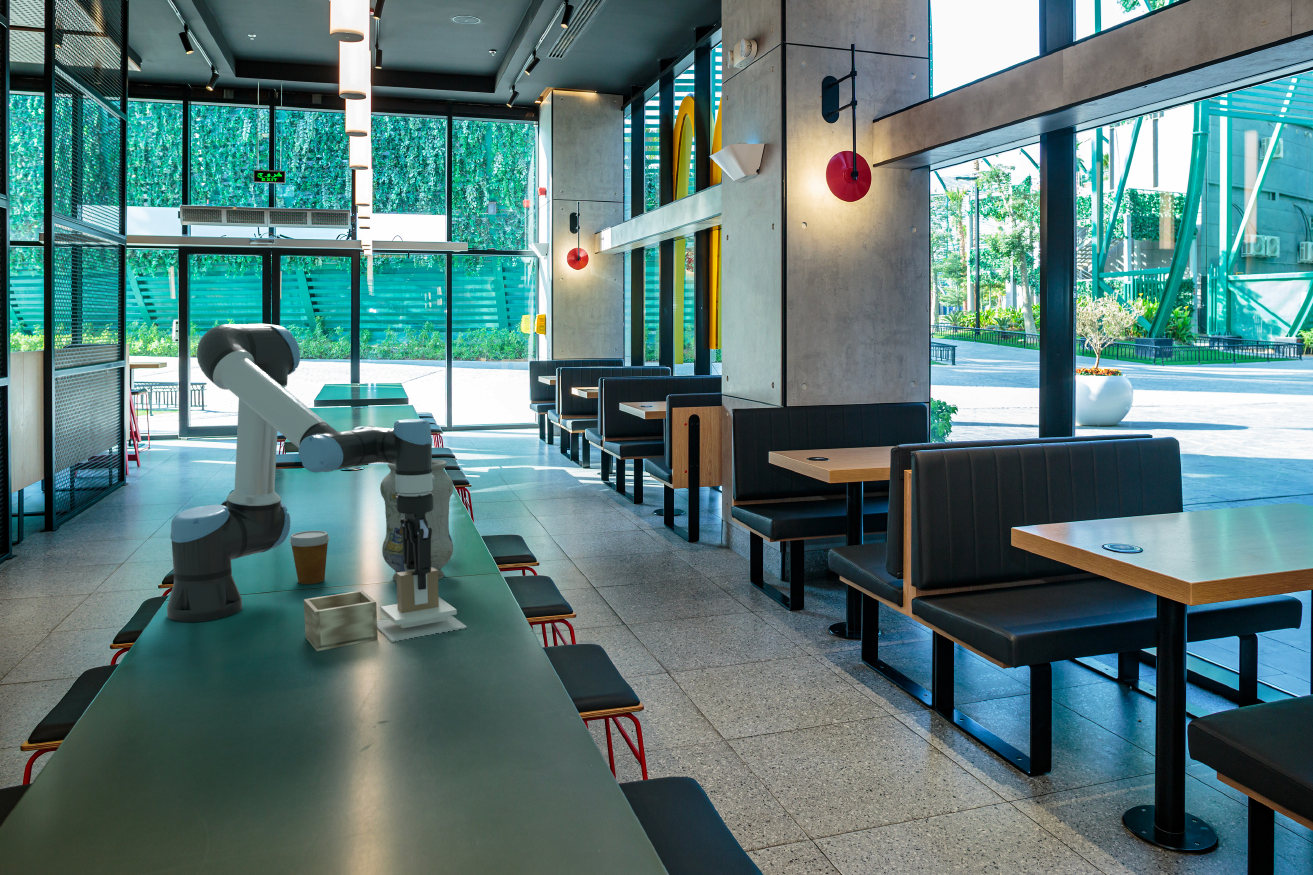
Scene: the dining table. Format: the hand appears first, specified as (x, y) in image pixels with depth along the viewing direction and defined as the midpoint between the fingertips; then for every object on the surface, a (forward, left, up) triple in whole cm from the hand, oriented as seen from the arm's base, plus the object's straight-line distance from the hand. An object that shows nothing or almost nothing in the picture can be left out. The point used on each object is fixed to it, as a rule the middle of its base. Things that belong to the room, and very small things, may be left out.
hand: (418, 601), depth 196 cm
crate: (-16, +1, -6) cm, 17 cm away
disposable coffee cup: (-11, +50, -6) cm, 51 cm away
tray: (0, 0, -6) cm, 6 cm away
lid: (0, 0, -4) cm, 4 cm away
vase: (+13, +38, -6) cm, 41 cm away
